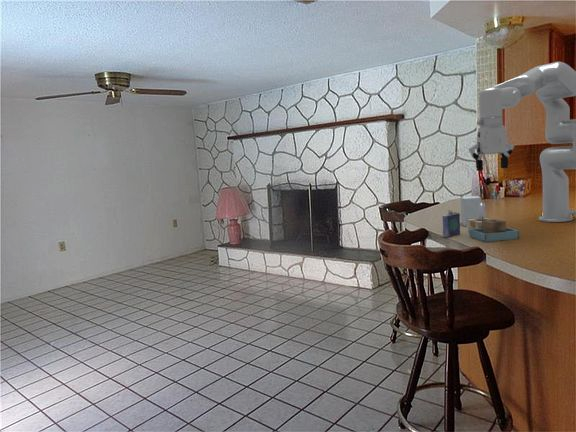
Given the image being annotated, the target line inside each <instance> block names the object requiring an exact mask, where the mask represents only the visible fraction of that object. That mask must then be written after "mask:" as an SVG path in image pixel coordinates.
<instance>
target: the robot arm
mask: <svg viewBox="0 0 576 432" xmlns="http://www.w3.org/2000/svg"><path fill="white" fill-rule="evenodd" d="M533 93H535V96H536V97H537V99H538V100H539V101H540V102H541V104H542V105H543V107H544V109H545V134H544V137H545V138H544V139H545V141H546V142H547V143H548V144H553V145H559V144H572V145H569V146H563V145H562V146H552V147H548V148H545V149H543V150H542V151H541V152H540V155H539V164H540V168H541V175H542V215H540V216H538V221H541V222H546V223H548V222H549V223H564V222H565V223H566V222H567V223H568V222H571V221H573V220H574V217H573V216H572V215H576V209H572V208H570V207H569V203H570V202H569V201H570V199H569V197H570V196H569V193H570V192H569V191H570V189H569V187H570V186H569V184H570V182H569V181H570V180H569V176H568V174H566V172H565V171H564V170H576V118H573V119H571V118H570V115H571V114H570V113H571V112H570V111H571V110H570V109H571V108H570V105H569V104H568V103H567V102H566V100H564V98H569V97H570V98H571V97H576V70H575V69H574V68H572V67H571V66H570V65H569V64H567V63H565V62H562V61H554V62H551V63H546V64H543V65H537V66H535V67H532V68H531V69H529V70H527V71H525V72H524V73H522V74H520V75H518V76H516V77H514V78H511V79H509V80H506V81H504V82H502V83H498V84H496V85H494V86H492V87H490V88H486V89H485V88H484V89H481V90H480V91H479V97H478V104H479V119H478V120H477V122H476V125H479V128H478V129H477V134H476V135H477V136H476V144H474V145H472V146H471V147H470V148H469V149H468V152H469V153H470V156H471V157H472V158H473V160H474V161H475V168H476V171H478V172H479V171H481V172H482V171H483V170H484V161H483V157H484V156H485V155H493V154H500V156H501V157H500V168H501V169H508V167H509V166H508V165H509V157H510V155H511V154H512V153H513V151H514V148H515V144H514V143H511V142H509V141H508V134H507V128H506V125H503V110H504V109H509V108H513V107H516V106H517V105H518V104H520V101H521V100H522V99H523V98H526V97H529V96H530V95H532V94H533Z"/></svg>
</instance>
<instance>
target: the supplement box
mask: <svg viewBox="0 0 576 432" xmlns="http://www.w3.org/2000/svg"><path fill="white" fill-rule="evenodd" d="M478 203H482V197H481V196H478V195H474V196H473V195H472V196H461V197H460V210H461V211H460V213H461V214H460V216H461V217H460V218H461V224H462V225H463V226H464V227H468V220H469V219H478Z"/></svg>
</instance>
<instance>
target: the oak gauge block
mask: <svg viewBox="0 0 576 432" xmlns="http://www.w3.org/2000/svg"><path fill="white" fill-rule="evenodd" d="M492 219H493V218H489V217H485V220H492ZM479 228H482V221H479V219H469V220H468V226H467V232H469V230H470V229H479Z"/></svg>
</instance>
